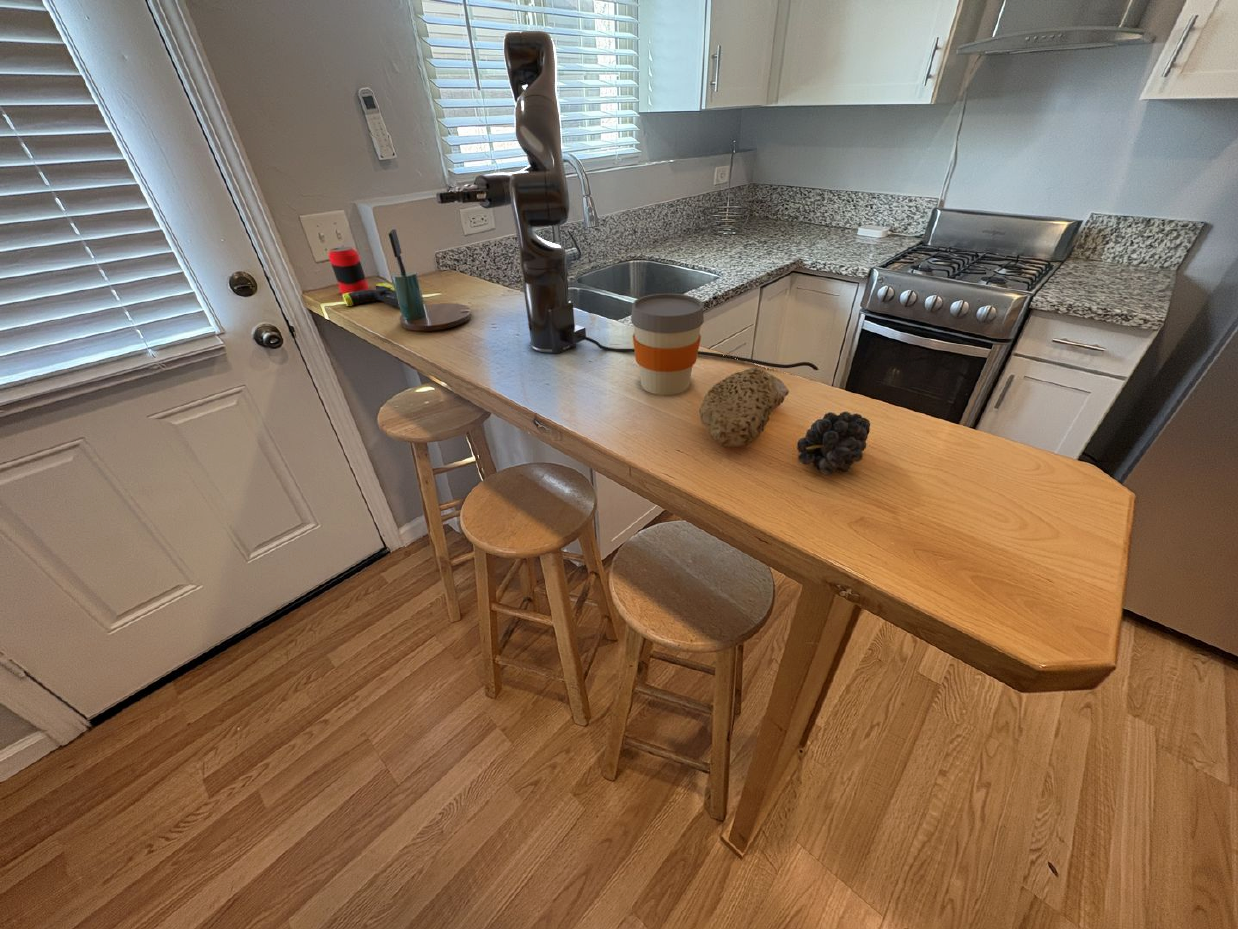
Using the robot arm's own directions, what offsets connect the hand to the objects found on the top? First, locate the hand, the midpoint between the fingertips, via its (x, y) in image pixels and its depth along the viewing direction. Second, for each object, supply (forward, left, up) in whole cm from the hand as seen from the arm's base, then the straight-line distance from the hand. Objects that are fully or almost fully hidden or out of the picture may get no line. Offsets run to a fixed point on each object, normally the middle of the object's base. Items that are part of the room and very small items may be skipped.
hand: (438, 198), depth 116 cm
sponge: (-88, +7, -26) cm, 92 cm away
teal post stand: (-4, +10, -26) cm, 28 cm away
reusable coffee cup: (-70, +3, -26) cm, 75 cm away
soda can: (+38, +11, -26) cm, 47 cm away
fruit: (-104, +7, -26) cm, 107 cm away
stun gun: (+21, +12, -26) cm, 35 cm away
